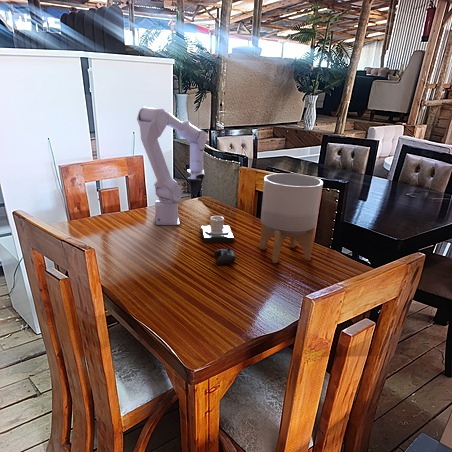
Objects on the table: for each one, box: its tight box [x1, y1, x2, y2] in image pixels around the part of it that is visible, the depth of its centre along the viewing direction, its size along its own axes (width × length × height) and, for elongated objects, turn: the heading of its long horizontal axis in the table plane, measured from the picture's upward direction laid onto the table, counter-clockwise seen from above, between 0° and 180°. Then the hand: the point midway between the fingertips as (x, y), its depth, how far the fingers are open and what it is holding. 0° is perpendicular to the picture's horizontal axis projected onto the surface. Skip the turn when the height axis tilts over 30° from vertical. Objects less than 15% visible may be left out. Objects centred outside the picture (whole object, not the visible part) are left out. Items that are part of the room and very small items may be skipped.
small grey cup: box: [209, 215, 225, 231], centre depth 153 cm, size 5×5×4 cm
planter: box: [259, 172, 324, 264], centre depth 135 cm, size 19×19×26 cm
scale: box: [201, 225, 235, 244], centre depth 154 cm, size 11×13×2 cm
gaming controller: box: [214, 247, 236, 266], centre depth 134 cm, size 10×5×6 cm
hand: (196, 192), depth 174 cm, fingers open, 7 cm apart
